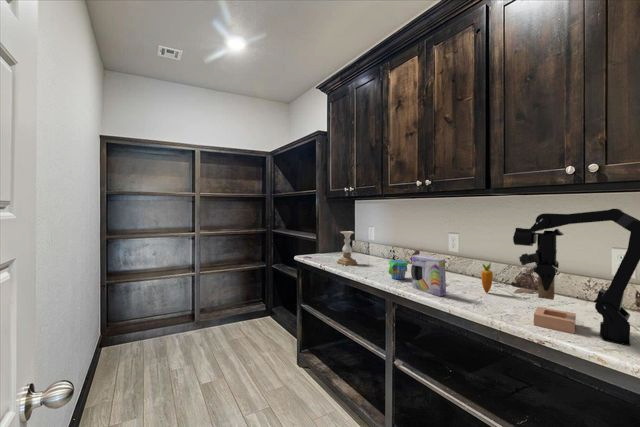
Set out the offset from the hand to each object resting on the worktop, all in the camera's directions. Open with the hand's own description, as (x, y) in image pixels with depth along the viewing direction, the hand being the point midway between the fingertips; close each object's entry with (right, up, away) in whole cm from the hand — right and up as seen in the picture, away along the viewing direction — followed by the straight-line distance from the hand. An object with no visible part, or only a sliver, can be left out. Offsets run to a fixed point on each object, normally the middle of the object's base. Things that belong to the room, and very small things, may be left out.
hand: (546, 289), depth 114 cm
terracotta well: (+2, -13, -1) cm, 13 cm away
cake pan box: (-30, -12, +41) cm, 52 cm away
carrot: (-1, -12, +40) cm, 41 cm away
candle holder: (-64, -9, +113) cm, 130 cm away
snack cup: (-38, -11, +69) cm, 79 cm away
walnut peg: (0, -3, 0) cm, 3 cm away
